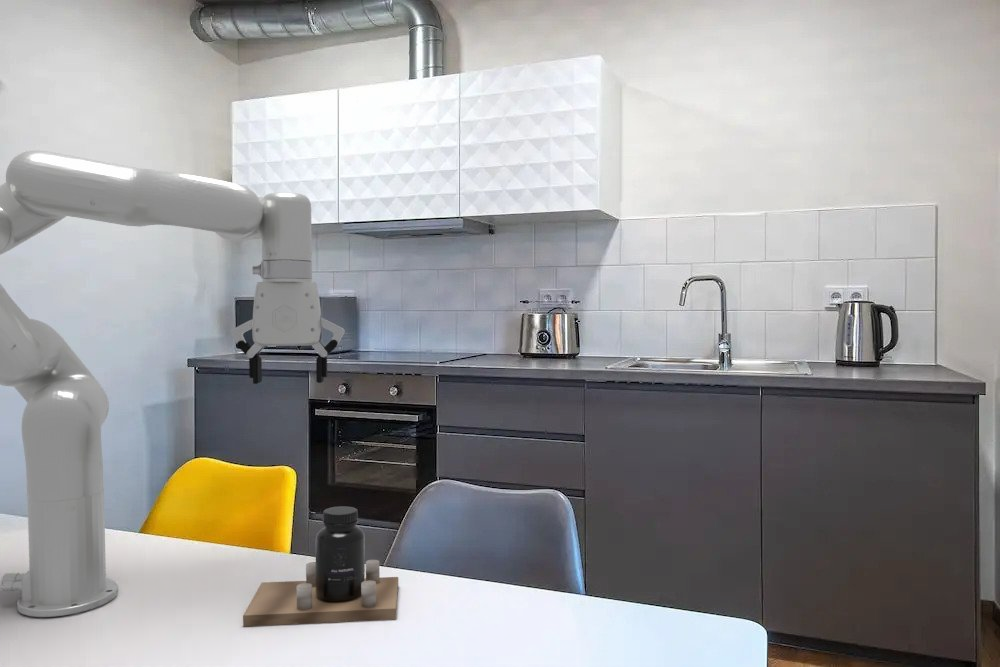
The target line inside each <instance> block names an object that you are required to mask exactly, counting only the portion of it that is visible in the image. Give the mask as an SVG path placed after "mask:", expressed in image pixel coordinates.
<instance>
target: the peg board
mask: <svg viewBox="0 0 1000 667" xmlns="http://www.w3.org/2000/svg"><path fill="white" fill-rule="evenodd" d="M315 581H316V561H311V562H307V563H306V564H305V580H293V581H291V580H289V581H288V580H287V581H286V580H285V581H265V582H261V583H260V585H259V587H258V588H257V590H256V591H255V594H254V595H253V597H252V599H251V601H250V603H249V604H248V606H247V607H246V610H245V611H244V613H243V615H242V627H244V628H245V627H263V626H264V627H265V626H283V625H284V626H286V625H287V626H288V625H289V626H290V625H307V624H308V625H309V624H327V623H328V624H329V623H345V622H346V623H348V622H367V621H368V622H369V621H373V622H374V621H391V620H393V621H394V620H397V609H398V597H399V594H398V593H399V576H385V577H380V560H378V559H368V560H365V581H364V582H362V583H361V596H360V597H358V598H356V599H353V600H350V601H345V602H328V601H324V600H321V599H320V598H318V597H317V595H316V585H315Z"/></svg>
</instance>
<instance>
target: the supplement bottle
mask: <svg viewBox="0 0 1000 667" xmlns="http://www.w3.org/2000/svg"><path fill="white" fill-rule="evenodd" d="M358 517H359V513H358V509H357V508H355V507H353V506H342V505H341V506H333V507H332V506H331V507H329V508H325V509H324V510H323V512H322V525H323V526H324V527H323V528H321V529H320V530H319V531H317V533H316V536H315V562H316V581H315V585H316V595H317V597H318V598H320V599H321V600H324V601H328V602H345V601H350V600H353V599H356V598H358V597H360V596H361V583H362V582H364V581H365V578H366V560H365V558H366V557H365V556H366V555H365V554H366V547H365V545H366V544H365V543H366V536H365V532H364V531H363V529H362V528H361V527H359V526H358V525H357V524H358V523H359V518H358Z"/></svg>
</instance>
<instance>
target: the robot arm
mask: <svg viewBox="0 0 1000 667" xmlns="http://www.w3.org/2000/svg"><path fill="white" fill-rule="evenodd" d="M66 217H72V218H77V219H84V220H89V221H91V220H92V221H98V222H103V223H108V224H113V225H114V224H115V225H121V226H126V227H139V228H140V227H146V226H156V225H158V226H161V225H163V226H175V227H181V228H189V229H195V230H201V231H208V232H211V233H212V232H213V233H215V234H216V235H217V236H219V237H220V238H222V239H224V240H227V241H231V242H242V241H249V240H250V241H252V240H261V261H260V264H258V265H253V266H252V269H251V270H252V274H253V275H258V276H260V278H261V279H262V281H256V285H255V291H254V297H253V299H254V300H253V307H252V308H253V310H252V318H251V319H250V320H247V321H246V322H244V323H242V324H239V325H238V326H236V327H234V328H232V329H231V330H230V331H229V332H230V335H231V337H232V338H233V340H234V342H235V344H236V346H237V348H239V350H240V351H241V352H242V353H244V354H245V355H246V357H247V358H248V362H249V363H248V365H249V366H248V371H249V372H248V373H249V378H250V379H252V383H253V384H254V385H258V384H259V383H261V382H262V381H263V371H262V368H263V367H262V357H261V356H260V353H261V352H262V351H263V349H264V348H265V347H295V346H296V347H300V346H301V347H302V346H303V347H304V346H311V347H312V349H314V350H315V352H316V353H317V357H316V359H315V360H316V362H315V363H316V366H315V369H316V371H315V372H316V375H315V376H316V378H315V379H316V383H318V384H321V383H323V382H324V378H327V377H328V356H329V355H330V354H331V353H332V352H333V351H334V350H335V349H336V348H337V347H338V346H339V343H340V342H341V340H342V338H343V336H344V334H345V332H346V331H345V329H344V328H343V327H341V326H339V325H337V324H335V323H333V322H331V321H329V320H327V319H325V318H323V317H322V311H321V310H322V309H321V301H320V294H319V289H318V284H317V282H315V281H313V262H312V261H313V257H312V256H313V251H312V250H313V246H312V241H313V239H312V235H313V234H312V203H311V201H310V199H309V197H308V196H307V195H304V194H301V193H296V192H285V191H284V192H271V193H267V194H266V195H264V196H258V195H257V194H256V193H255V192H254V191H253V190H251V189H250V188H249V187H247V186H244V185H242V184H240V183H237V182H236V183H235V182H231V181H226V180H221V179H215V178H210V177H205V176H200V175H199V176H198V175H194V174H188V173H181V172H173V171H162V170H156V169H151V168H150V169H149V168H142V167H141V168H139V167H134V166H128V165H123V164H117V163H111V162H105V161H100V160H95V159H88V158H85V157H79V156H74V155H68V154H62V153H57V152H52V151H45V150H28V151H27V150H26V151H23V152H21V153H19V154H16V156H14V157H13V158H12V159H11V161H10V162H9V164H8V166H7V168H6V171H5V182H4V183H3V184H1V185H0V256H1V255H3V254H5V253H7V252H9V251H11V250H12V249H14V248H15V247H18V246H20V245H21V244H22V243H24V242H27V241H28V240H30V239H31V238H33V237H35V236H37V235H38V234H40V233H41V232H44V231H45V230H47V229H48V228H50V227H52V226H54V225H56V224H57V223H59V222H60V221H62V220H63V219H64V218H66ZM323 329H325V330H326V331H330V332H331V333H332V334H333V335H332V338H331V340H329V342H328V343H327V344H326V345H325V344H324V343H323V342H322V337H323ZM251 330H252V332H251V333H252V334H251V335H252V341H253V345H251V344H250V343H249V342H248V341H246V339H245V336H244V334H245V333H246V332H248V331H251ZM0 385H1V386H2V387H3V386H4V387H12V388H13V387H14V388H15V390H16V391H17V392H18V393H19V394H20V395H21V397H22V398H23V399H24V400H25V401H26V405H25V408H24V409H23V414H22V418H21V437H22V445H23V452H24V460H25V461H24V462H25V473H26V474H25V475H26V498H27V525H28V526H27V528H28V529H27V530H28V533H27V534H28V562H29V566H28V571H27V572H25V573H20V572H15V573H14V572H13V573H11V572H8V573H4V574H3V576H2V579H1V591H2V592H4V593H5V592H14V591H16V592H17V591H19V592H20V593H21V596H20V597H19V598H18V600H17V601H16V602H17V603H16V606H17V611H18V612H19V613H20V614H21V615H25V616H27V617H33V618H52V617H53V618H55V617H63V616H64V617H65V616H68V615H74V614H79V613H83V612H86V611H90V610H93V609H96V608H98V607H101V606H103V605H105V604H107V603H109V602H111V601H112V600H113V599H114V598H115V597H117V595H118V593H119V585H118V584H119V583H117V581H116V580H113V579H110V578H107V567H106V564H107V563H106V527H105V525H106V524H105V521H106V520H105V488H104V485H105V484H104V482H105V481H104V462H103V447H102V427H103V424H104V423H105V421H106V419H107V417H108V414H109V409H110V404H109V403H110V401H109V399H108V394H107V393H106V391H105V389H104V388H103V386H102V385H101V383H99V381H98V380H97V379H96V377H95V376H94V374H92V372H91V371H90V370H89V368H88V367H87V366H86V365H85V363H84V362H82V360H81V359H80V358H79V356H78V355H77V354H76V353H75V352H74V351H73V349H72V348H71V347H70V346H69V344H68V342H67V341H66V340H65V339H64V338H63V337H62V335H60V333H58V332H57V330H55V329H54V328H53V327H52V326H50V325H49V324H47V323H46V322H44V321H41V320H39V319H34V318H29V317H28V315H27V314H26V313H25V312H24V311H23V310H22V309H21V308H20V306H18V304H17V303H16V302H15V301H14V300H13V299H12V297H11V296H10V295H9V293H8V291H6V289H5V288H4V286H3V285H2V284H1V283H0Z"/></svg>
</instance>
